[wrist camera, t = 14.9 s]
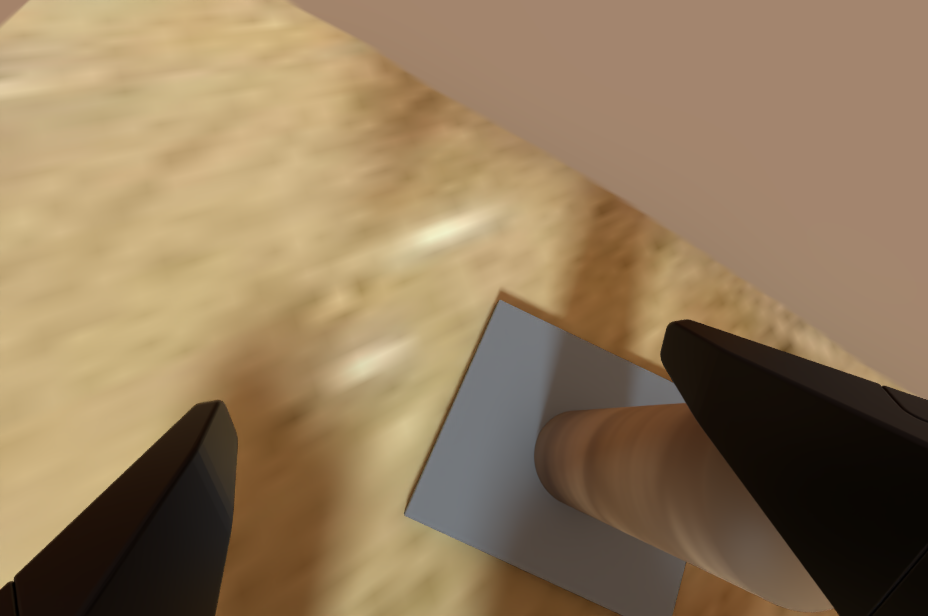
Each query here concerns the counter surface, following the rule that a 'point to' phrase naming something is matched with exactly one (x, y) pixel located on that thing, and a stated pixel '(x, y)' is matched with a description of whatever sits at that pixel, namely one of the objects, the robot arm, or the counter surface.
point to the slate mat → (514, 474)
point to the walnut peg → (671, 496)
